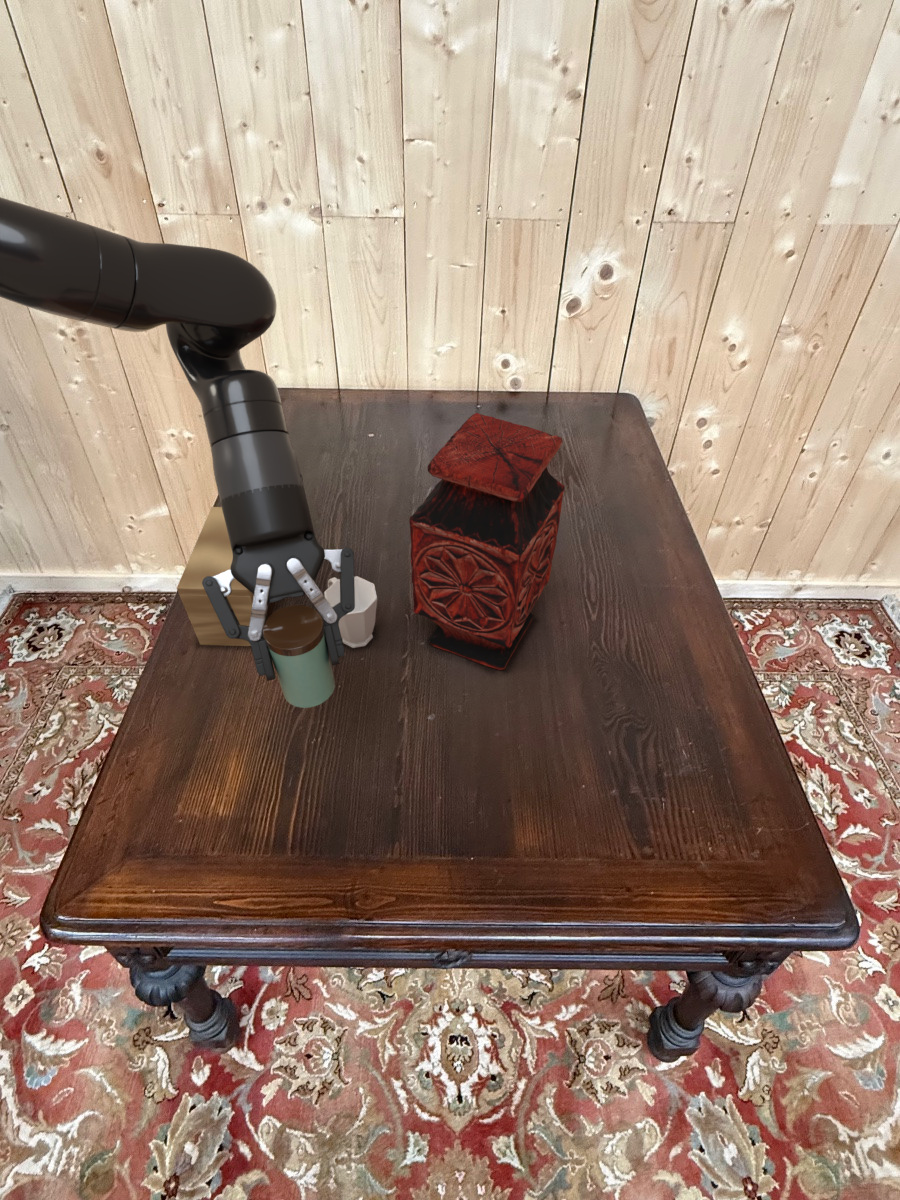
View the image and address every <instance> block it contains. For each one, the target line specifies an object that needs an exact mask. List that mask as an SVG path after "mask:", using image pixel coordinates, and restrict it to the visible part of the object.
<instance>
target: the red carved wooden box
mask: <svg viewBox="0 0 900 1200" xmlns="http://www.w3.org/2000/svg"><path fill="white" fill-rule="evenodd" d="M563 442H564V440H563V437H561V436H558V435H557V434H556V435H553V434H551V433H549V432H546V431H542V430H540V429H537V428H533V427H529V426H527V425H522V424H517V423H513V422H510V421H508V420H504V419H500V418H496V417H494V416H489V415H485V414H483V413H482V414H481V413H478V412H476V413H473V414H471V416H470V417H468V418H467V420H465V421H464V422H463V423H462V424H461V426H460V427H459V428H458V429H457V430H456V431H455V432H454V433H453V434H452V436H451V437H450V438H449V439H448V440H447V442H446V443H445V444H444V445H443V446H442V447H441V448H440V449H439V451H438V452H437V453H436V454H435V455H434V456H433V458H432V459H431V460H430V462H429V463H428V464H427V472H428V473H429V474H430V475H431V476H432V477H435V478H437V479H439V481H438V482H437V483H436V484H435V486H434V487H433V489H432V490H431V491H430V493H429V494H428V495H427V496H426V498H425V499H424V500H423V502H422V503H421V504H420V505H419V506H418V507H417V509H416V510H415V511H414V513H413V514H412V515H410V516H409V521H408V522H409V532H410V533H409V534H410V545H411V546H410V566H411V584H412V596H413V597H412V598H413V610H412V613H414V614H416V615H419V616H422V617H423V618H426V619H428V620H430V621H432V622H433V623H434V624H436V627H435V629H434V630H433V632H432V634H431V636H430V637H429V639H428V641H429V642H428V643H429V645H431V646H432V647H434V648H437V649H440V650H442V651H446V652H450V653H451V654H454V655H457V656H459V657H462V658H464V659H468V660H470V661H472V662H475V663H477V664H480V665H483V666H485V667H489V668H490V669H495V670H498V671H502V670H505V669H506V668H507V665H508V663H509V662H510V660H511V657H512V656H513V654H514V653H515V651H516V649H517V647H518V645H519V643H520V642H521V640H522V638H523V637H524V635H525V634H526V631H527V630H528V628H529V627H530V625H531V623H532V621H533V618H534V614H533V612H532V610H533V609H534V607H535V605H536V603H537V602H538V600H539V598H540V596H541V594H542V593H543V591H544V589H545V587H546V585H547V584H548V583H549V581H550V577H551V572H552V565H553V564H552V563H553V560H554V555H555V550H556V545H557V537H558V533H559V527H560V521H561V513H562V505H563V498H564V493H565V485H564V484H563V483H562V482H560V481H559V480H557V479H556V478H555V477H554V476H553V475H552V474H551V473H550V472H549V470H548V465H549V464H551V463H550V462H551V461H552V460H553V458H554V457H555V456H556V455H557V453H558V451H559V450H560V449H561V447H562V444H563Z"/></svg>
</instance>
